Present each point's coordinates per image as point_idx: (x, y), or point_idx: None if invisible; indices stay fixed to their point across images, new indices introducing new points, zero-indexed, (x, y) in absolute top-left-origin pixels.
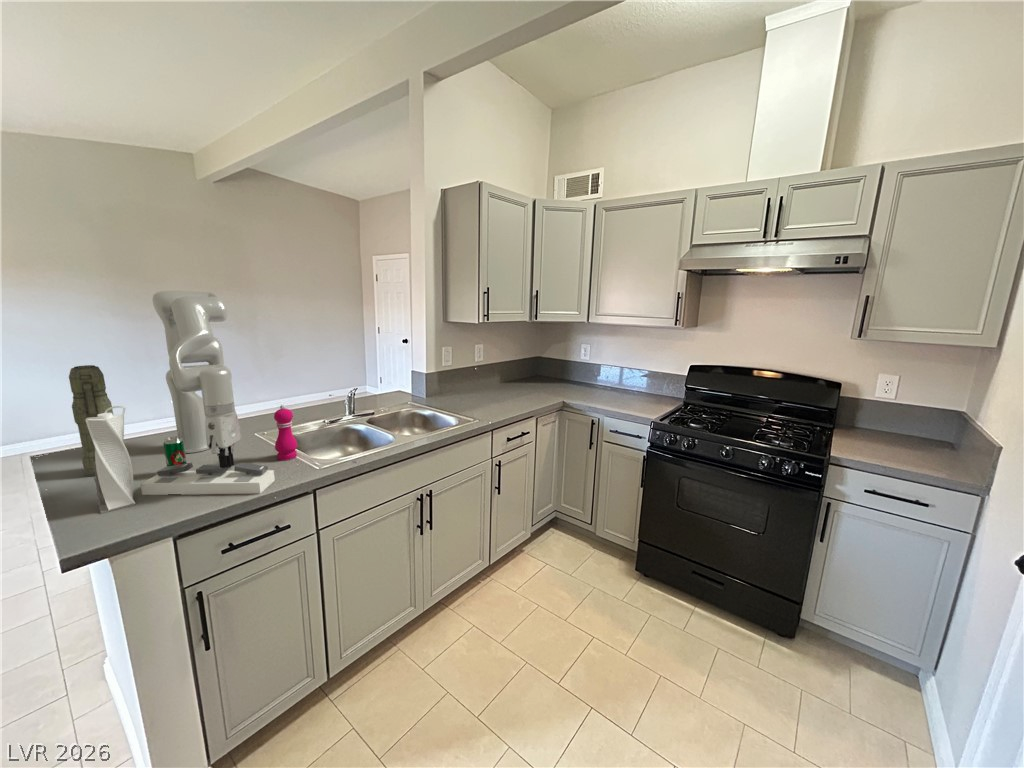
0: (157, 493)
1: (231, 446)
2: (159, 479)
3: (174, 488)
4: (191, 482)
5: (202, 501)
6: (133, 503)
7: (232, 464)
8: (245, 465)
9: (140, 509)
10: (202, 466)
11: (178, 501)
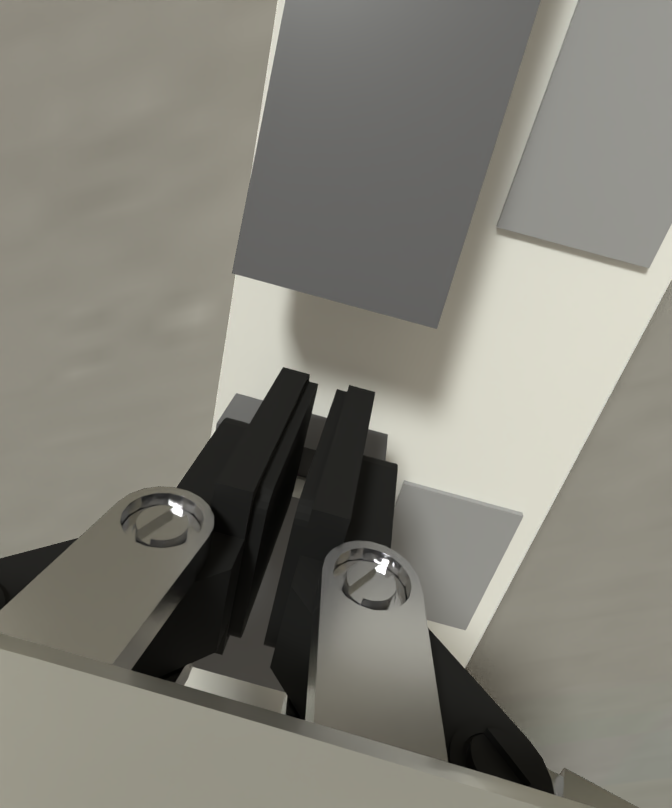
0: None
1: (113, 623)
2: None
3: None
4: (454, 641)
5: (664, 469)
6: None
7: (314, 385)
8: (359, 167)
9: (596, 750)
10: (229, 664)
11: (568, 612)
